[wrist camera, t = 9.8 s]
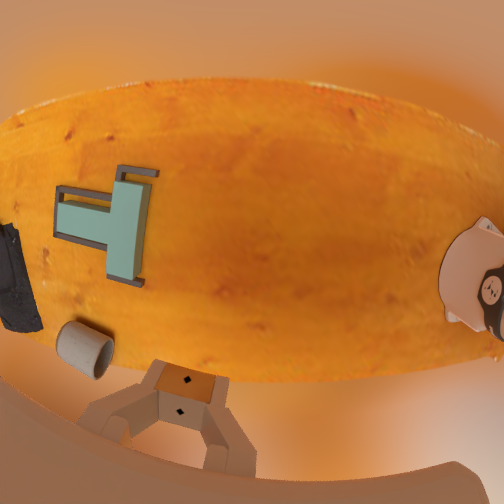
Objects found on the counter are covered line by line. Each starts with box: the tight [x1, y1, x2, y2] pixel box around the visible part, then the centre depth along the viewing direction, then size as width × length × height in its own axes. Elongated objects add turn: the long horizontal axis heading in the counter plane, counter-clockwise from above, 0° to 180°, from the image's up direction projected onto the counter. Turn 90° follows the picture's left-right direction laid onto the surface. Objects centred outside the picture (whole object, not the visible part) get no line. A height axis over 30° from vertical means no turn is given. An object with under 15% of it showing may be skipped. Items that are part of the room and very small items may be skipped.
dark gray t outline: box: [53, 165, 159, 288], centre depth 33 cm, size 16×16×1 cm
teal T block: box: [57, 180, 152, 280], centre depth 33 cm, size 13×12×3 cm
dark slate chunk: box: [0, 223, 43, 333], centre depth 35 cm, size 15×22×5 cm
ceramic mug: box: [56, 321, 114, 380], centre depth 36 cm, size 11×8×8 cm
